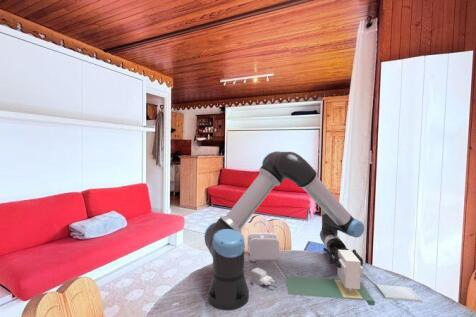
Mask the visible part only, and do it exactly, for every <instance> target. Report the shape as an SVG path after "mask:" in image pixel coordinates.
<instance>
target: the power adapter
mask: <svg viewBox="0 0 476 317" xmlns="http://www.w3.org/2000/svg"><path fill="white" fill-rule="evenodd" d="M272 282H273V283H274V284H276V285H278V284H279V282H278V281H276V280H275V279H274V278H273V277H271V276H270V275H268V273H267V271H266V270H264V269H262V268H260V267H254V268H252V269H251V271H250V283H251V284H252V285H254V284H256V285H257V284H258V285H259V286H264V285H265V286H268V285H269V286H271V287H275V286H274V284H273V283H272Z"/></svg>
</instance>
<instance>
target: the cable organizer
mask: <svg viewBox="0 0 476 317" xmlns="http://www.w3.org/2000/svg"><path fill="white" fill-rule="evenodd" d="M247 253H248V254H249V253H250V254H249V258H250V260H251V261H252V262H254V263H256V262H257V261H258V260H259V261H273V262H278V261H279V259H280V241H279V239H278V238H277V236H276V234H275V233H274V232H249V233H248V234H247Z"/></svg>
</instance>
